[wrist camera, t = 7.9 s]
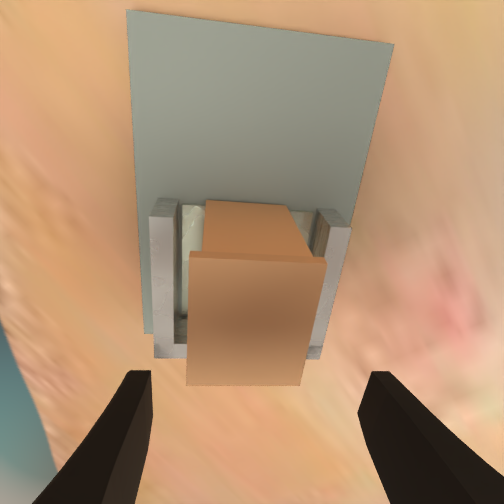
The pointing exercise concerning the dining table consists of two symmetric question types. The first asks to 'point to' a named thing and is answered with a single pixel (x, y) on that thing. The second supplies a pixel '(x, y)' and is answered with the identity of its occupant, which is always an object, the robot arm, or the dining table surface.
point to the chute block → (251, 297)
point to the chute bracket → (167, 250)
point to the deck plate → (247, 118)
